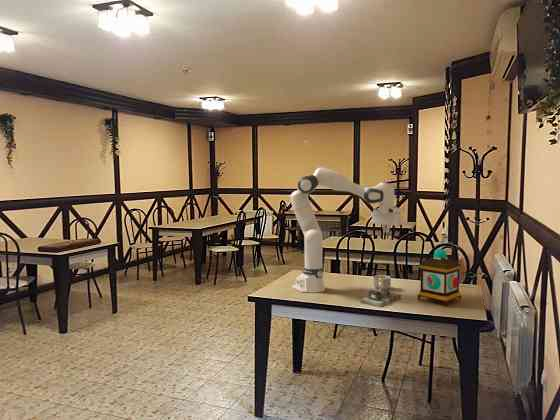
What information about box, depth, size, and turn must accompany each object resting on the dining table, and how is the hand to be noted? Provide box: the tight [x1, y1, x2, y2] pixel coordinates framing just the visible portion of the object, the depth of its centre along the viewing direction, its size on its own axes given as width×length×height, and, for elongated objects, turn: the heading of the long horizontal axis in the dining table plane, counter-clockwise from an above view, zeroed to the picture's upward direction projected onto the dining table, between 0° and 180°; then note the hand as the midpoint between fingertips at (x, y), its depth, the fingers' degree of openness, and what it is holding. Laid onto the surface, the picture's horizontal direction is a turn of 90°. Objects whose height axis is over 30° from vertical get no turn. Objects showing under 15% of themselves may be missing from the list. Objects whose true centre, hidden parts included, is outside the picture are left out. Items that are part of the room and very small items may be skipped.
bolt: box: [371, 278, 386, 299], centre depth 241 cm, size 10×3×10 cm, turn 137°
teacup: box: [372, 274, 392, 291], centre depth 270 cm, size 14×11×8 cm
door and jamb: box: [359, 289, 402, 308], centre depth 244 cm, size 24×12×6 cm, turn 137°
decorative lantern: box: [417, 247, 462, 308], centre depth 241 cm, size 20×20×30 cm
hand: (386, 232), depth 258 cm, fingers closed
